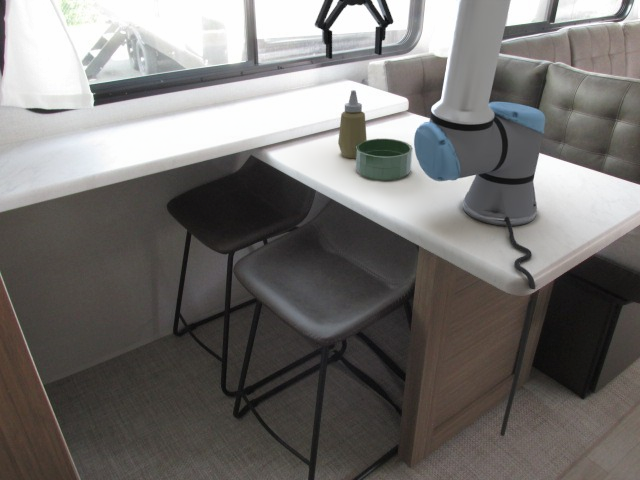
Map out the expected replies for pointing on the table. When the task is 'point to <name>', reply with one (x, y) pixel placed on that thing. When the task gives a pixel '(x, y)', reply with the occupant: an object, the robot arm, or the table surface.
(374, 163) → the bowl
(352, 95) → the squeeze bottle
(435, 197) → the table surface
